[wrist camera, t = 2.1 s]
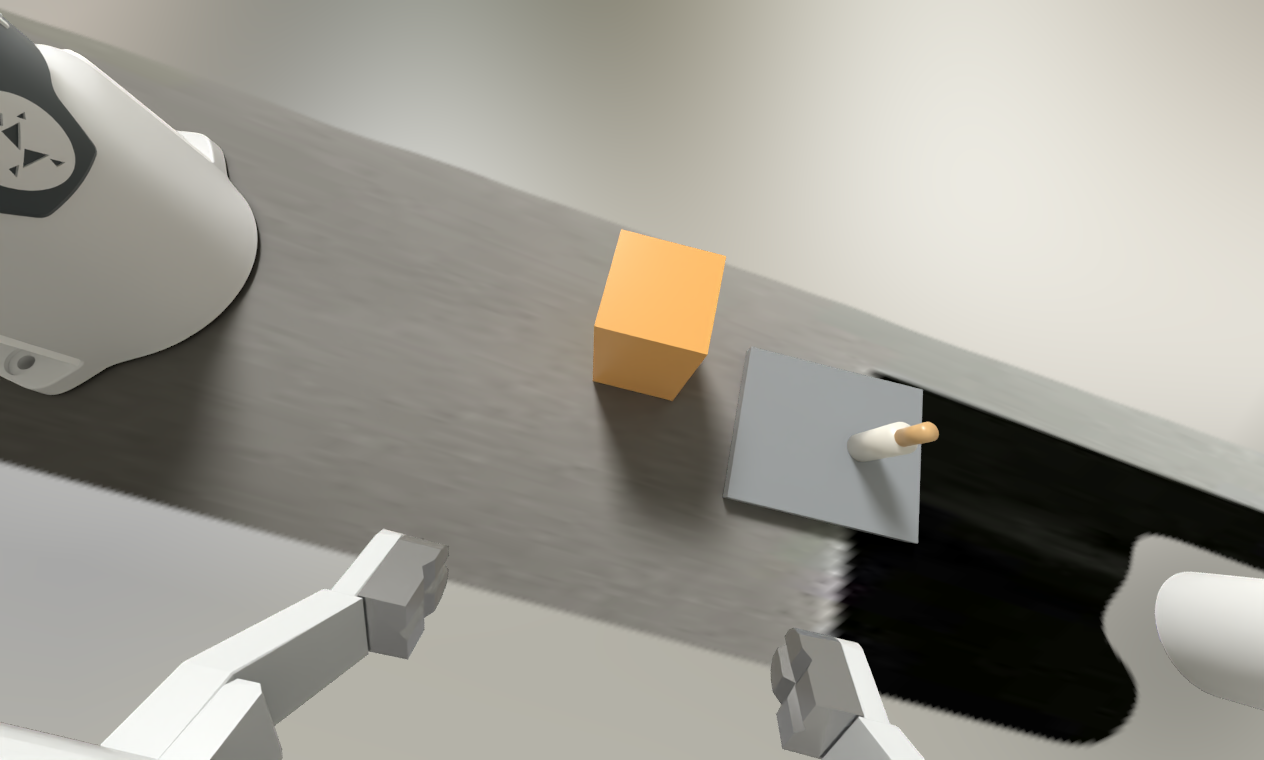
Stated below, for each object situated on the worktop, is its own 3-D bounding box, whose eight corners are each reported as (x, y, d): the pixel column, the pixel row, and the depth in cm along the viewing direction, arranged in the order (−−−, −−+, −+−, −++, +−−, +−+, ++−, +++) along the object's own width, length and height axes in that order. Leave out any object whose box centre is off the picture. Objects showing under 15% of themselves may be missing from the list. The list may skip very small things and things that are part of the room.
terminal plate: (722, 497, 28) (727, 497, 27) (746, 351, 31) (751, 346, 30) (906, 542, 28) (918, 543, 27) (912, 393, 31) (922, 389, 30)
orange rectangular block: (592, 381, 29) (594, 326, 20) (612, 308, 31) (621, 229, 22) (672, 400, 29) (707, 354, 21) (687, 327, 31) (726, 256, 22)
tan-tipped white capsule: (846, 458, 28) (911, 444, 22) (848, 430, 29) (913, 410, 23) (873, 464, 28) (945, 453, 22) (875, 437, 29) (946, 418, 23)
